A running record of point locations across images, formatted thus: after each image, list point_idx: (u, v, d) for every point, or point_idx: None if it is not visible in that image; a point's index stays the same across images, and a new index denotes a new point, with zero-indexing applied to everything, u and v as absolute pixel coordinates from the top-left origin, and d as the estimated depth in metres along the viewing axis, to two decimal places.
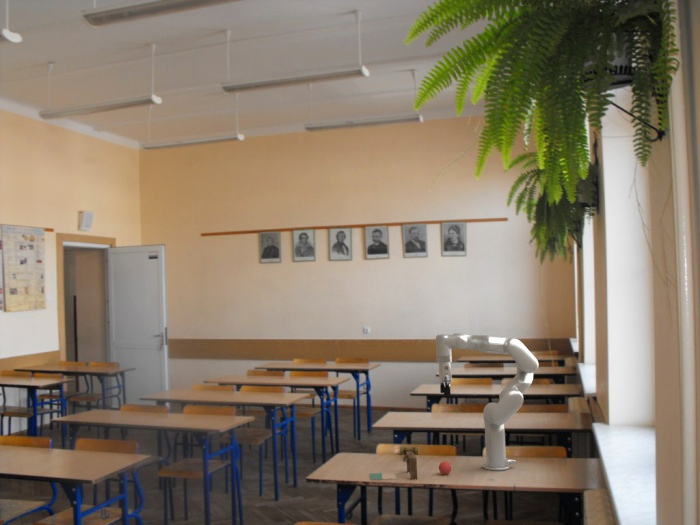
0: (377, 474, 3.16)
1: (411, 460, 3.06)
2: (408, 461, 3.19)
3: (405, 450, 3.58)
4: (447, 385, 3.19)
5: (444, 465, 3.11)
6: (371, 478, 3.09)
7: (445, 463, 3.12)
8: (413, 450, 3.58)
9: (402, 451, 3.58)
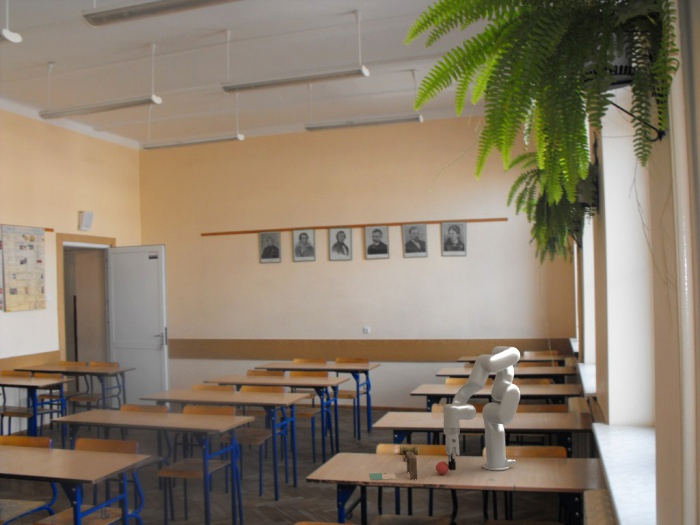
0: (377, 474, 3.16)
1: (411, 460, 3.06)
2: (408, 461, 3.19)
3: (405, 450, 3.58)
4: (452, 460, 3.11)
5: (440, 466, 3.11)
6: (371, 478, 3.09)
7: (441, 463, 3.12)
8: (413, 450, 3.57)
9: (402, 451, 3.58)
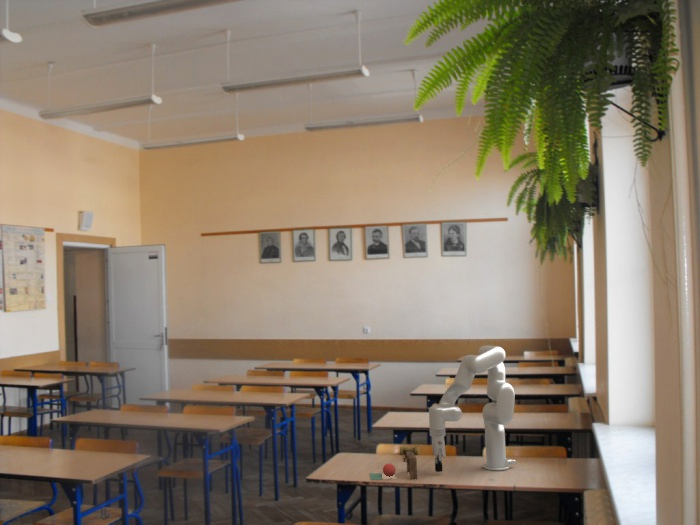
0: (377, 474, 3.16)
1: (411, 460, 3.06)
2: (408, 461, 3.19)
3: (405, 450, 3.58)
4: (439, 461, 3.11)
5: (388, 475, 3.10)
6: (371, 478, 3.09)
7: (386, 475, 3.11)
8: (413, 450, 3.57)
9: (402, 451, 3.58)
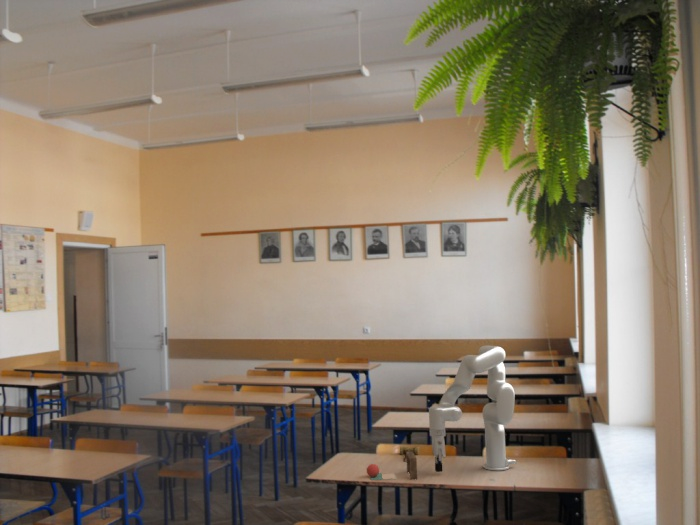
0: None
1: (411, 460, 3.06)
2: (408, 461, 3.19)
3: (405, 450, 3.58)
4: (439, 461, 3.11)
5: (376, 469, 3.10)
6: (371, 478, 3.09)
7: (378, 469, 3.11)
8: (413, 450, 3.57)
9: (402, 451, 3.58)
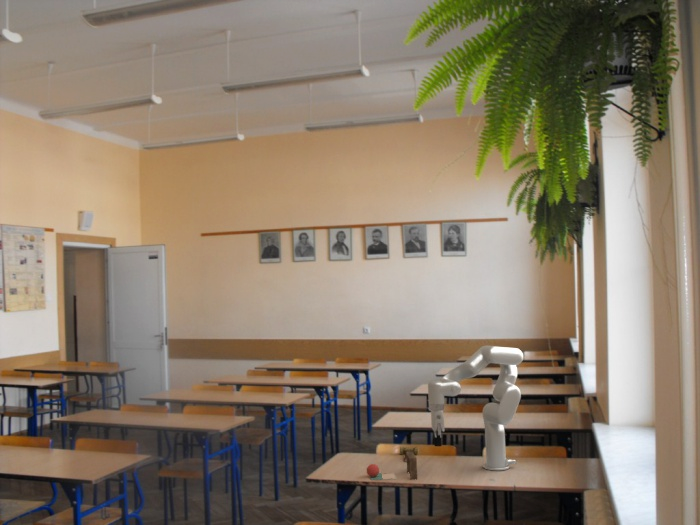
0: None
1: (411, 460, 3.06)
2: (408, 461, 3.19)
3: (405, 450, 3.57)
4: (438, 436, 3.12)
5: (376, 469, 3.10)
6: (371, 478, 3.09)
7: (378, 469, 3.11)
8: (413, 450, 3.57)
9: (402, 451, 3.57)
